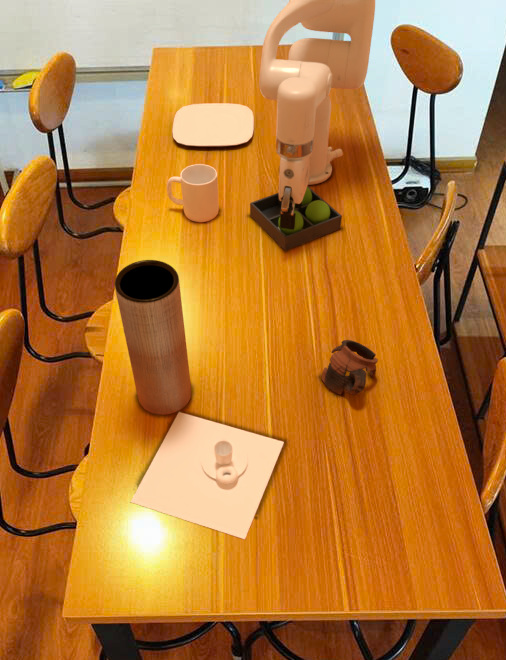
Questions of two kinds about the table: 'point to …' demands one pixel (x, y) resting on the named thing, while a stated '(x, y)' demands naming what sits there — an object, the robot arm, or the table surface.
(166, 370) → the vase
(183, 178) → the cup
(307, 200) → the lime back left
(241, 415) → the table surface
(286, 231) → the lime
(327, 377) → the pottery mug
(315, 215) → the lime back right
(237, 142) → the plate
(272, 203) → the rack
